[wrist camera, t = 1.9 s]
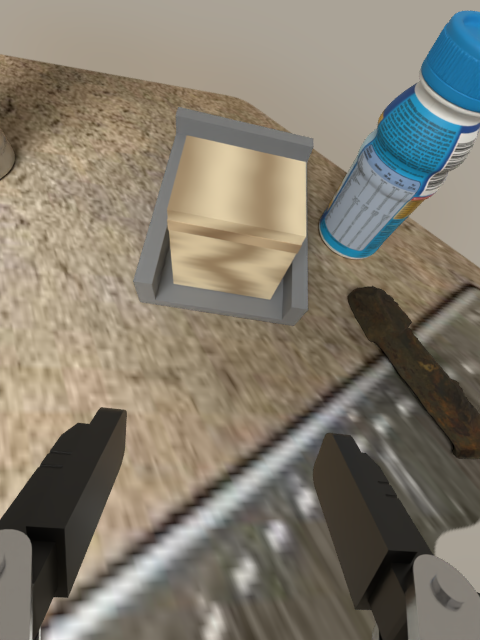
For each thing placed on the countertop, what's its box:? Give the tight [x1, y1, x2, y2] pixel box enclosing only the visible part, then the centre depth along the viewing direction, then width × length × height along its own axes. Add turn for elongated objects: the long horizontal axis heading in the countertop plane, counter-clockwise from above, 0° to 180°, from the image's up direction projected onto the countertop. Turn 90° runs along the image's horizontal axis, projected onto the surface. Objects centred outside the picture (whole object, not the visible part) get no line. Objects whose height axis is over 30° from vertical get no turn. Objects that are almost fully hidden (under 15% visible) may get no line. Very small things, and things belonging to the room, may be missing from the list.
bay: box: [133, 107, 313, 326], centre depth 31 cm, size 16×22×6 cm
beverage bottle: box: [319, 11, 480, 259], centre depth 28 cm, size 8×8×20 cm
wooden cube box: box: [167, 135, 306, 300], centre depth 26 cm, size 10×8×10 cm
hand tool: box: [348, 286, 480, 459], centre depth 29 cm, size 19×4×5 cm, turn 30°
